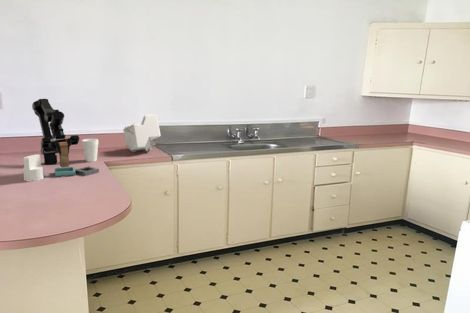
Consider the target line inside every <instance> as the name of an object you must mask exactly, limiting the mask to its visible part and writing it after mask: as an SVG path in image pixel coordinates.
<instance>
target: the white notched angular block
mask: <svg viewBox="0 0 470 313" xmlns="http://www.w3.org/2000/svg"><path fill="white" fill-rule="evenodd" d="M157 114H158V113H152V114H144V116H143V117H142V121H141V124H137V123H129V124H128V125H126V126H125V127H124V128H123V129H122V130H123V135H124V141H125V142H124V143H125V146H126V148H128V149H129V151H131V152H132V153H136V152H137V151H145V152H146V153H148V152H150V150H152V148H153V147H154V146H155V145H156V143H155V142H154V141H153V140H155V139H158V138H159V137H161V136H162V134H161V130H160V124H159V118H158V115H157Z"/></svg>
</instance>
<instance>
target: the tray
mask: <svg viewBox="0 0 470 313" xmlns="http://www.w3.org/2000/svg"><path fill="white" fill-rule="evenodd" d="M75 169H76V168H75V166H69V167H63V168H62V167H55V168H54V177H55V178H61V176H65V177H75V176H74V175H76V171H75Z"/></svg>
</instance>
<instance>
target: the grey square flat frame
mask: <svg viewBox="0 0 470 313" xmlns="http://www.w3.org/2000/svg"><path fill="white" fill-rule="evenodd" d="M75 171H76V174H78V175H81V176H84V175H85V176H86V175H87V176H90V174H91V175H94V174H98V172H99V173H100V168H98V167H97V168H96V167H93V166H84V167H81V168H80V167H79V168H75ZM85 176H84V177H85Z"/></svg>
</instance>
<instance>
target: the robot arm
mask: <svg viewBox="0 0 470 313" xmlns="http://www.w3.org/2000/svg"><path fill="white" fill-rule="evenodd" d="M31 108H32V110H33V112H34V114H35V115H36V116H37V117H38V120H39V125H40V128H41V134H42V138H41V140H40V155H43V160H44V165H57V163H58V155H59V154H60V155H61V151H60V148H59V142H67V143H68V155H69V154H70V147H71V146H74V145H78V144H79V141H80V135H78V134H75V135H74V134H73V135H70V137H69V138H68V137H67V138H66V134H65V133H64V128H63V127H62V125H63V122H64V119H65V114H64V112H62V111H60V110H59V109H54V108H53V107H52V105H51V103H50V102H49V99H48V98H39V99H37V100H35V101H34V102H32V105H31ZM57 154H58V155H57Z"/></svg>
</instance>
